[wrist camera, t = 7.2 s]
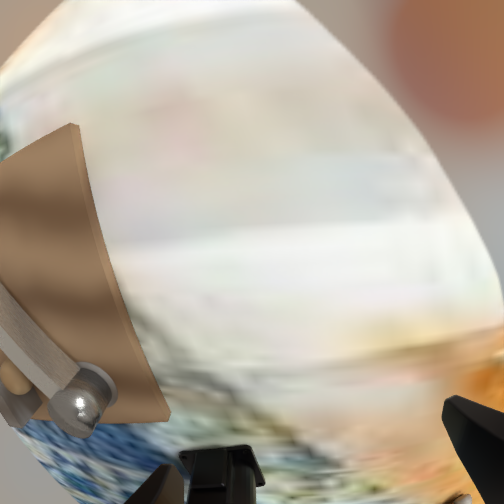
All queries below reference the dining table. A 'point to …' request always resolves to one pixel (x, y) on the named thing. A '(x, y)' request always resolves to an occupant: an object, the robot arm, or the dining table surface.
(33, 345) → the lever
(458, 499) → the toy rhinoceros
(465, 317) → the dining table surface
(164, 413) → the base
